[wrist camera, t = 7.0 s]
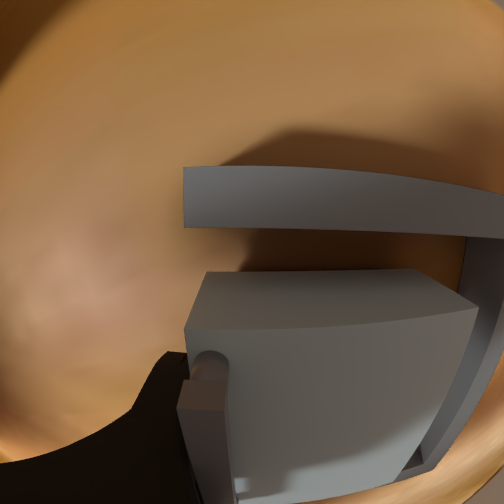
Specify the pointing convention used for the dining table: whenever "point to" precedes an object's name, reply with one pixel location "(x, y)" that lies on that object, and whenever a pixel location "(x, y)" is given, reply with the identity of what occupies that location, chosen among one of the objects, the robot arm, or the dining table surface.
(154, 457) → the robot arm
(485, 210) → the bay
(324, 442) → the box with handle
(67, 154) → the dining table surface
